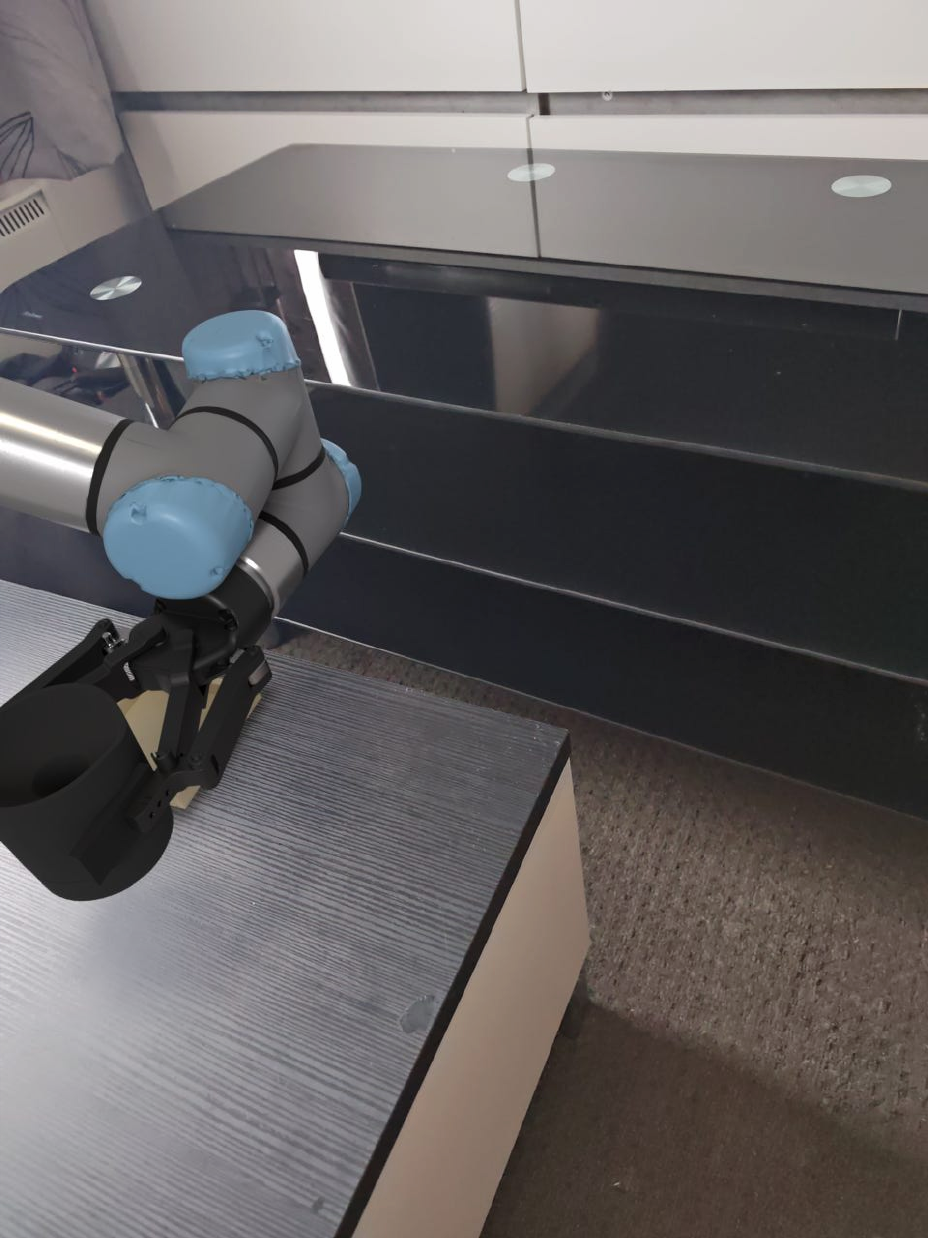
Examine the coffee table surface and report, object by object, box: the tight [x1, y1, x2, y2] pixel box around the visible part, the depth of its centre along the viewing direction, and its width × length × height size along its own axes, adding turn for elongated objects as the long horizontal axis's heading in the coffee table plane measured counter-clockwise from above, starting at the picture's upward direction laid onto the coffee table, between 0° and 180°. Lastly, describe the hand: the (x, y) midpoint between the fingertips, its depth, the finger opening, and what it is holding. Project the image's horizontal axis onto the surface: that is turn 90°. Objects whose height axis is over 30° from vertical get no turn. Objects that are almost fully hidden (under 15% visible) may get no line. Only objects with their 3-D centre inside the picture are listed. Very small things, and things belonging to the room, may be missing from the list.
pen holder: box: [0, 683, 175, 902], centre depth 55 cm, size 9×9×10 cm
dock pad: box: [117, 676, 263, 810], centre depth 81 cm, size 13×13×2 cm
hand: (18, 850), depth 52 cm, fingers closed on pen holder, 9 cm apart
